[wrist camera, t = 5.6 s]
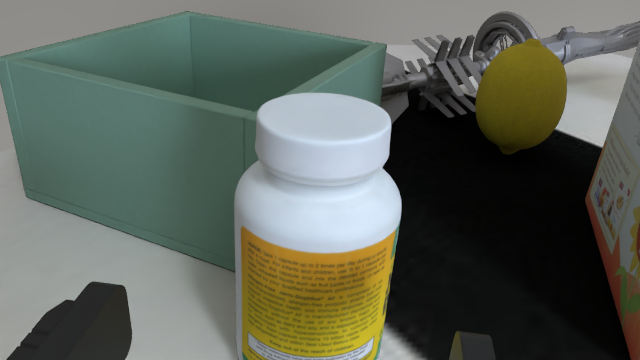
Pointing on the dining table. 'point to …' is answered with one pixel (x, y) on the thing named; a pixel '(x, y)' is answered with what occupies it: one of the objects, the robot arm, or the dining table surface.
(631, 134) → the cracker box
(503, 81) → the lemon
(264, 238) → the supplement bottle
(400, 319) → the dining table surface
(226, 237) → the open storage box
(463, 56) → the spaceship
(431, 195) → the dining table surface
